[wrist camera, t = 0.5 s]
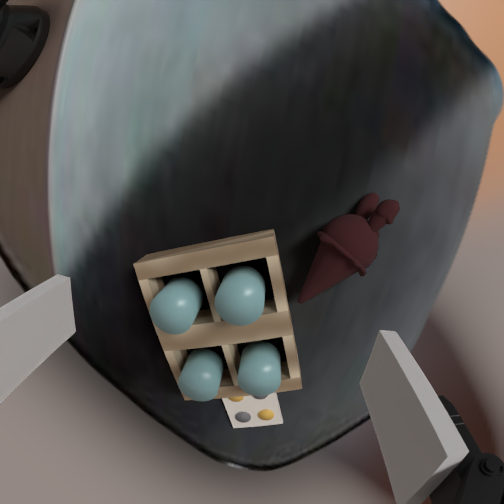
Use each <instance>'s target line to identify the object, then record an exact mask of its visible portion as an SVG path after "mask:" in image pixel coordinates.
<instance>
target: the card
mask: <svg viewBox="0 0 504 504" xmlns="http://www.w3.org/2000/svg"><path fill="white" fill-rule="evenodd" d="M222 400H223V403H224V405H225V408H226V410H227V413H228V416H229V418H230V421H231V423H232V426H233V428H242V427H255V426H265V425H274V424H283V419H282V415H281V410H280V406H279V402H278V398H277V394H276V393H272V394H269V395H266V396H253V395H252V396H242V397H231V398H222Z"/></svg>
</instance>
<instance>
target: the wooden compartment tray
mask: <svg viewBox="0 0 504 504" xmlns="http://www.w3.org/2000/svg"><path fill="white" fill-rule="evenodd" d="M265 257H266V259H267V264H268V268H269V273H270V278H271V283H272V288H273V293H274V298H273V299H268V300H265V301H264V310H263V312H262V314H261V316H260V317H259V318H258V319H257V320H256V321H255V322H253V323H251V324H249V325H245V326H237V325H232V324H230V323H228V322H226V321H224V320H223V319H222V318H221V317H220V316H219V314H218V313H217V311H216V308H215V296H216V294H217V292H218V289H219V287H220V285H221V284H220V280H219V277H218V273H217V269H216V266H222V265H227V264H232V263H238V262H243V261H249V260H254V259H259V258H265ZM133 265H134V268H135V271H136V274H137V278H138V281H139V284H140V287H141V290H142V293H143V296H144V299H145V302H146V305H147V308H148V310H149V313H150V304H151V302H152V300H153V299H154V298H155V297H156V295H157V294H158V293H159V292H160V291H161V290H162V289H163V288H164V286H165V285H164V282H163V279H162V276H167V275H172V274H178V273H183V272H189V271H194V270H200V273H201V276H202V280H203V284H204V287H205V291H206V294H207V298H208V301H209V305H210V308H211V309H205V310H199V312H198V314H197V316H196V318H195V320H194V322H193V324H192V326H191V327H190V329H189V330H188V331H186V332H184V333H182V334H169V333H166V332H164V331H162V330H161V329H159V328H158V327H157V326H156V325H155V324H154V322H153V321H152V322H153V324H154V327H155V330H156V332H157V335H158V338H159V340H160V343H161V345H162V348H163V351H164V353H165V356H166V358H167V360H168V363H169V365H170V368H171V370H172V372H173V375H174V377H175V379H176V382H177V384H178V379H179V377H180V374H181V372H182V370H183V367H184V365H185V363H186V361H187V358H188V353H187V350H186V349H195V348H204V347H213V346H221V345H222V349H223V352H224V355H225V358H226V361H227V364H228V368H229V369H223V373H222V377H221V381H220V385H219V389H218V393H217V395H216V396H215V397H214V398H213V399H217V398H231V397H242V396H252V395H250V394H248V393H246V392H244V391H243V390H242V389H241V388H240V386H239V385H238V381H237V378H238V372H239V367H240V361H241V357H240V354H239V350H238V347H237V343H245V342H252V341H259V340H265V339H272V338H278V337H283V342H284V347H285V352H286V357H287V361H285V362H280V363H281V383H280V386H279V388H278V389H277V390H276V391H275V392H273V393H276V392H284V391H290V390H297V389H302V382H301V373H300V366H299V361H298V355H297V349H296V343H295V338H294V332H293V327H292V321H291V316H290V310H289V305H288V299H287V294H286V289H285V283H284V278H283V273H282V268H281V263H280V257H279V252H278V247H277V242H276V237H275V232H274V229H271V230H265V231H260V232H255V233H250V234H245V235H240V236H235V237H230V238H225V239H220V240H215V241H210V242H205V243H200V244H195V245H190V246H186V247H181V248H176V249H171V250H166V251H162V252H157V253H152V254H147V255H145V256H144V257H143V258H141V259H140V260H138V261H137V262H136V263H134V264H133ZM151 319H152V318H151ZM180 391H181V390H180ZM181 393H182V392H181ZM182 395H183V398H184V400H193V399H191V398H189V397H187V396H186V395H184V394H183V393H182Z"/></svg>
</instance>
